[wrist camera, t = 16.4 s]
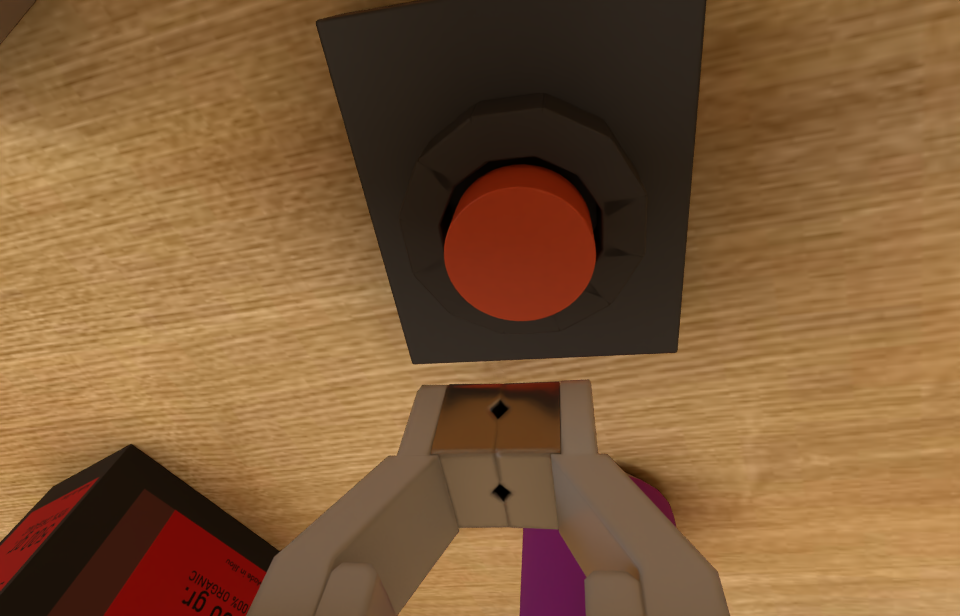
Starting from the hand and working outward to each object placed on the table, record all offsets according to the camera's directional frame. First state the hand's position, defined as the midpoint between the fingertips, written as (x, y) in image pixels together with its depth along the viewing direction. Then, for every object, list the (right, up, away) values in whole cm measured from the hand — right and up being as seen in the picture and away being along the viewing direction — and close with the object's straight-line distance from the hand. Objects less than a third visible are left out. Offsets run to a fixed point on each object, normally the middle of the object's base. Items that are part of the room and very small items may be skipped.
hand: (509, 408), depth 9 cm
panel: (+1, +6, +9) cm, 11 cm away
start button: (+1, +4, +6) cm, 7 cm away
